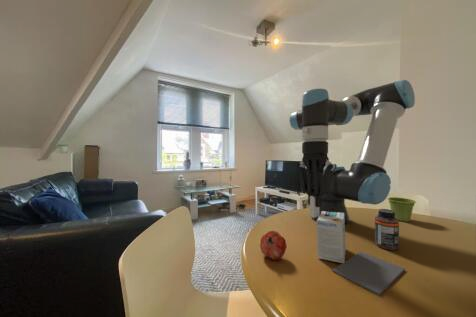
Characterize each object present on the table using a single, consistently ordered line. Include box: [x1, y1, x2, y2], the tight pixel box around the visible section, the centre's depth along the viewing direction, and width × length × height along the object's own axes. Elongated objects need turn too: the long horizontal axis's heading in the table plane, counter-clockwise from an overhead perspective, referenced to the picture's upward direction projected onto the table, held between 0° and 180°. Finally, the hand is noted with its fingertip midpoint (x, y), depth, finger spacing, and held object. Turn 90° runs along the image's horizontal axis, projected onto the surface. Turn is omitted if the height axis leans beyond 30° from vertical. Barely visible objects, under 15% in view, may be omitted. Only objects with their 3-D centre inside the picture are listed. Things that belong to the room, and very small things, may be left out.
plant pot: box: [387, 196, 417, 223], centre depth 84 cm, size 9×9×9 cm
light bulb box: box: [316, 211, 347, 264], centre depth 56 cm, size 11×7×11 cm, turn 149°
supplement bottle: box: [374, 208, 400, 251], centre depth 60 cm, size 6×6×11 cm
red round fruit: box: [259, 230, 287, 261], centre depth 55 cm, size 7×7×10 cm
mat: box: [331, 251, 405, 296], centre depth 48 cm, size 10×15×1 cm, turn 124°
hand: (314, 216), depth 61 cm, fingers closed
